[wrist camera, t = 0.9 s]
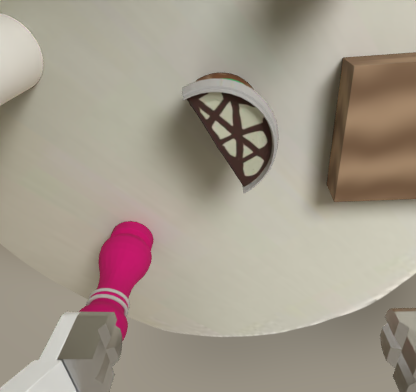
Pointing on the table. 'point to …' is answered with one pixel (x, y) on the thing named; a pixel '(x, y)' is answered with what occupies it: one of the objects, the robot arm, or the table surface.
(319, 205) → the table surface
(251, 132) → the food container
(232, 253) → the table surface
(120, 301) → the pepper mill
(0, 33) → the cup
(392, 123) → the walnut base
